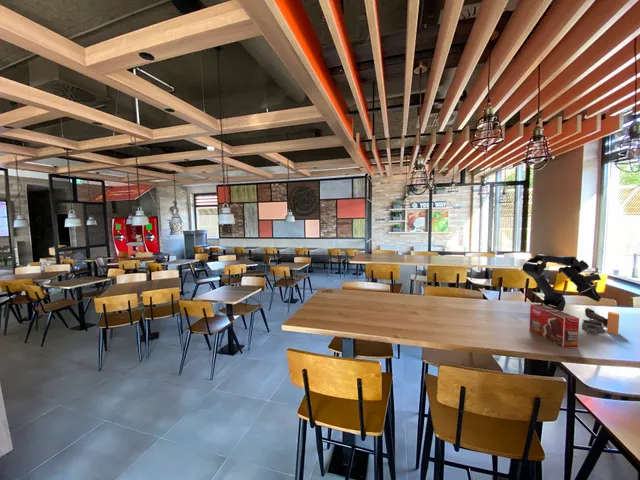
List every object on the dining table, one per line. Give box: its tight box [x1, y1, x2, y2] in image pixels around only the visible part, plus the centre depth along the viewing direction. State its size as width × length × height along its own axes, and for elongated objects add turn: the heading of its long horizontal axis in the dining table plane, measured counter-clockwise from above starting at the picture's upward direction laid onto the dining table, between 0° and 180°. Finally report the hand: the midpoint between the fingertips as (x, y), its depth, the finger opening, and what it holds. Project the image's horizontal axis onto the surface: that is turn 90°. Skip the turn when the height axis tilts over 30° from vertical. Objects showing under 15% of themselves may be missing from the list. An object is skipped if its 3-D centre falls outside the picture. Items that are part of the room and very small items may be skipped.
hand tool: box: [584, 307, 608, 327], centre depth 150 cm, size 19×4×5 cm, turn 157°
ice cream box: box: [529, 303, 580, 348], centre depth 127 cm, size 20×6×13 cm, turn 177°
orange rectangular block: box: [606, 311, 620, 336], centre depth 132 cm, size 4×4×10 cm
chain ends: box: [581, 318, 604, 337], centre depth 137 cm, size 22×8×3 cm, turn 134°
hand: (599, 300), depth 142 cm, fingers open, 9 cm apart
